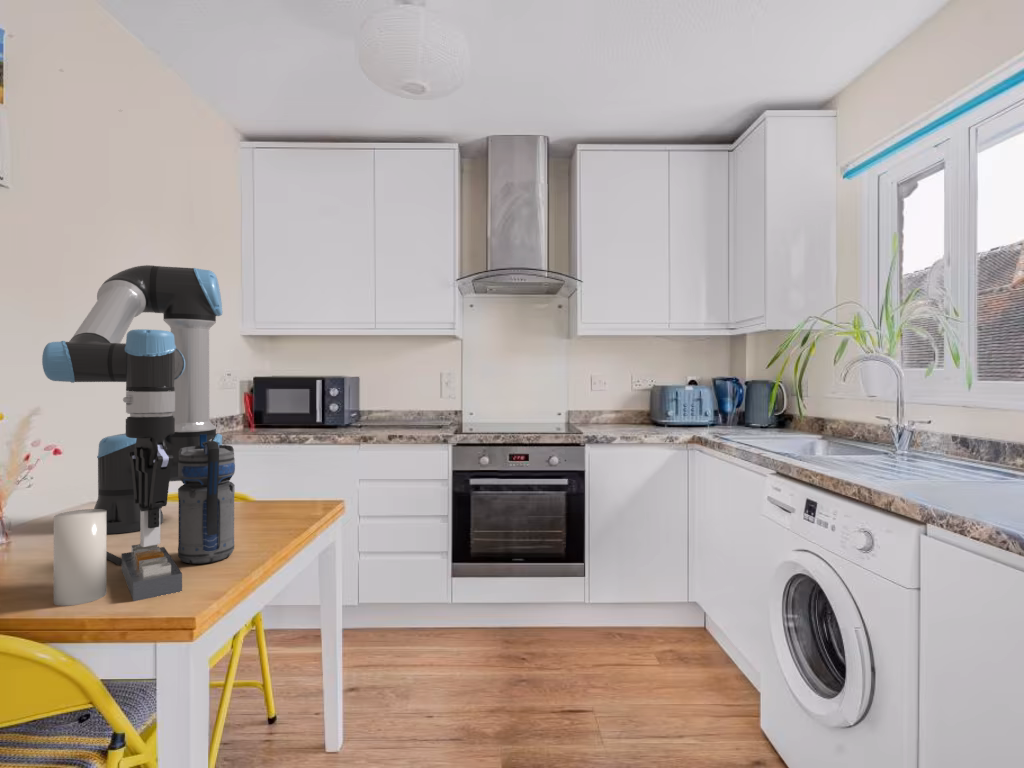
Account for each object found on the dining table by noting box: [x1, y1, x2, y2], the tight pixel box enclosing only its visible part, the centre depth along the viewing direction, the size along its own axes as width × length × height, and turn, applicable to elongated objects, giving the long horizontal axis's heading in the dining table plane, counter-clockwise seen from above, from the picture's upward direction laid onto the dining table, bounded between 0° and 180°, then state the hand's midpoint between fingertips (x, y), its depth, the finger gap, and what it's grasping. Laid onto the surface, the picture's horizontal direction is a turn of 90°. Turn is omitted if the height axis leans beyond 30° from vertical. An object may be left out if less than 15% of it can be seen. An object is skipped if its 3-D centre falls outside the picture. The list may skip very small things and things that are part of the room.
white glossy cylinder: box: [53, 508, 108, 607], centre depth 94 cm, size 7×7×14 cm
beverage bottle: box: [177, 434, 236, 565], centre depth 115 cm, size 10×13×25 cm
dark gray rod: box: [106, 550, 122, 566], centre depth 114 cm, size 11×1×1 cm, turn 54°
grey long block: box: [121, 543, 183, 602], centre depth 103 cm, size 20×7×5 cm, turn 39°
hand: (150, 544), depth 103 cm, fingers closed
